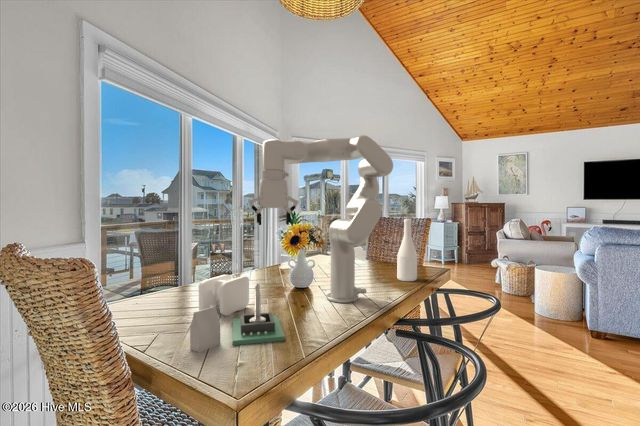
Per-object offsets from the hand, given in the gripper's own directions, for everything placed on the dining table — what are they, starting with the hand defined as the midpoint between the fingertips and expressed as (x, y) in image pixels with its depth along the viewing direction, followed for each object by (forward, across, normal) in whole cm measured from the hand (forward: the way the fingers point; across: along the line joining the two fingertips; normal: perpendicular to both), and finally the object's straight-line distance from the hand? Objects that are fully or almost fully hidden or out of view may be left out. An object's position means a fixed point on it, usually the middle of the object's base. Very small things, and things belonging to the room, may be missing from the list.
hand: (273, 224), depth 123 cm
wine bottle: (+31, -69, -33) cm, 82 cm away
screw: (+29, +7, +19) cm, 36 cm away
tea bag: (+31, +21, +27) cm, 46 cm away
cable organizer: (+31, +17, -3) cm, 35 cm away
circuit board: (+30, +7, +19) cm, 36 cm away
